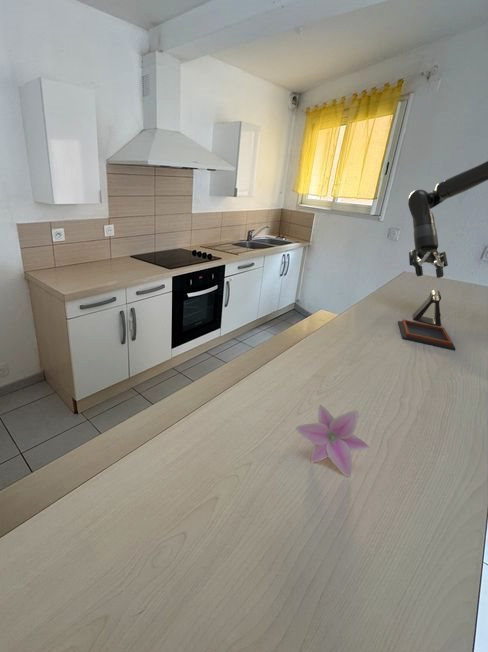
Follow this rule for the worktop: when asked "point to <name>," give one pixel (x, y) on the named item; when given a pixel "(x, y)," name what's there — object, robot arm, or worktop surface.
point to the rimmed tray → (425, 334)
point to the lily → (334, 438)
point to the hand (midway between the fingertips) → (430, 276)
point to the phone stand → (422, 309)
